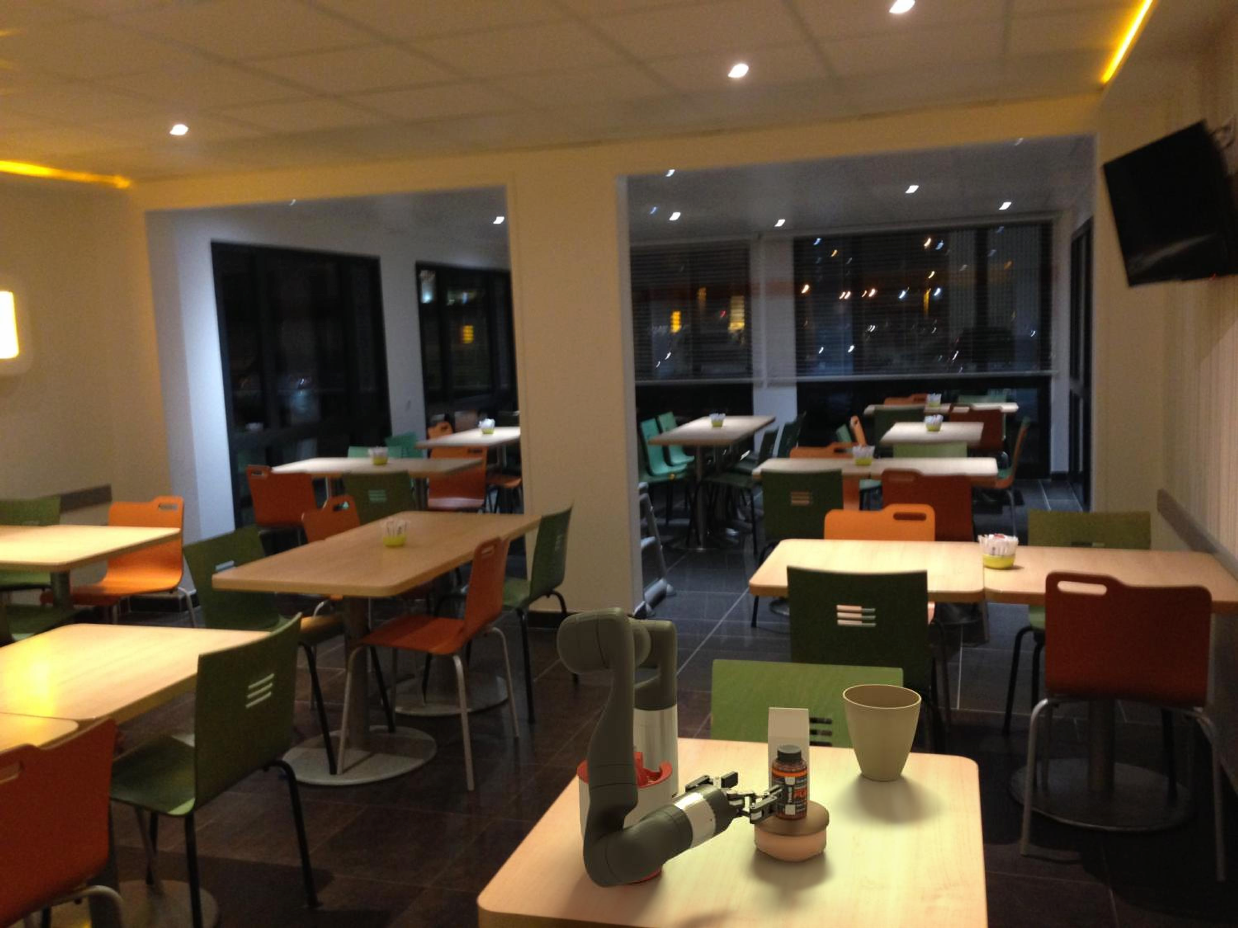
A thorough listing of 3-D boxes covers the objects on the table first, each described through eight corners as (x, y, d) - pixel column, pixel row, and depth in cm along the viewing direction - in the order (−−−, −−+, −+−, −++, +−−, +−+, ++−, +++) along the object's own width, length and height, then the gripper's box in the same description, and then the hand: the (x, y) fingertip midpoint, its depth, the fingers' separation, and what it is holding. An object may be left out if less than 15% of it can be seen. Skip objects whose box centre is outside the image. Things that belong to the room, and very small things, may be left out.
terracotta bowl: (760, 868, 175) (760, 836, 174) (749, 835, 187) (748, 804, 186) (834, 865, 175) (833, 833, 174) (817, 832, 187) (817, 802, 186)
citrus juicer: (701, 861, 178) (699, 745, 175) (628, 902, 165) (624, 777, 163) (633, 833, 189) (630, 723, 186) (560, 869, 176) (555, 752, 174)
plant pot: (909, 794, 201) (909, 712, 200) (833, 780, 209) (832, 701, 207) (929, 766, 214) (929, 689, 212) (856, 754, 222) (856, 679, 220)
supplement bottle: (799, 823, 176) (798, 757, 175) (765, 816, 179) (764, 750, 178) (813, 810, 181) (812, 745, 180) (780, 802, 184) (779, 739, 183)
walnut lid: (757, 837, 174) (757, 831, 173) (745, 803, 186) (745, 798, 186) (837, 834, 174) (837, 828, 174) (819, 800, 187) (819, 795, 187)
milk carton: (808, 818, 193) (807, 715, 191) (768, 815, 194) (767, 714, 192) (809, 801, 200) (808, 702, 198) (771, 799, 201) (770, 701, 199)
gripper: (732, 806, 156) (794, 772, 167) (657, 781, 165) (721, 750, 177) (732, 855, 156) (795, 818, 168) (658, 828, 166) (722, 794, 178)
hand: (757, 783), depth 173 cm, fingers open, 8 cm apart
